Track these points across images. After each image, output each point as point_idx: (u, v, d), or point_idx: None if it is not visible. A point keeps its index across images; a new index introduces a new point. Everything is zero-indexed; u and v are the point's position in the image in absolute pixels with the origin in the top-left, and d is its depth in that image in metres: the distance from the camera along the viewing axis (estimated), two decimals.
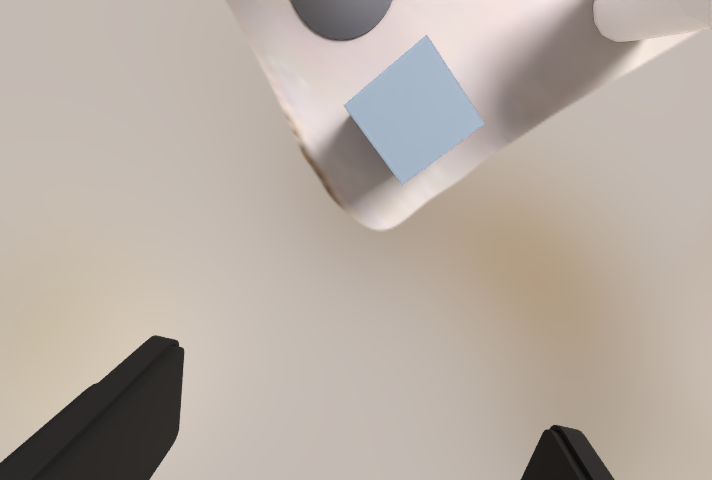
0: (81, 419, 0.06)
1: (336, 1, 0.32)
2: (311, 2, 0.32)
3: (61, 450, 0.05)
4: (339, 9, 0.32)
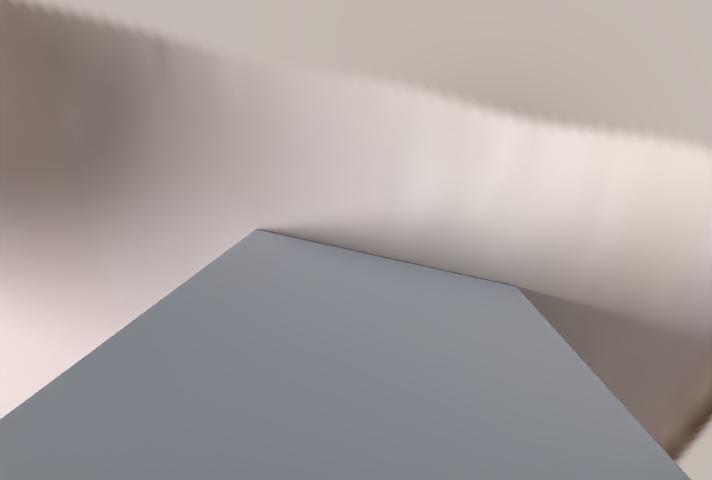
0: None
1: None
2: None
3: None
4: None
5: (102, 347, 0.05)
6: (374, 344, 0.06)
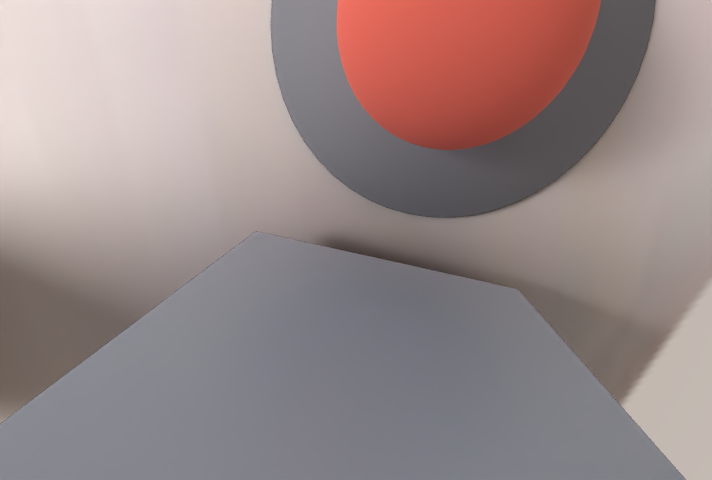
0: None
1: None
2: (577, 72, 0.09)
3: None
4: None
5: (100, 352, 0.05)
6: (373, 348, 0.06)
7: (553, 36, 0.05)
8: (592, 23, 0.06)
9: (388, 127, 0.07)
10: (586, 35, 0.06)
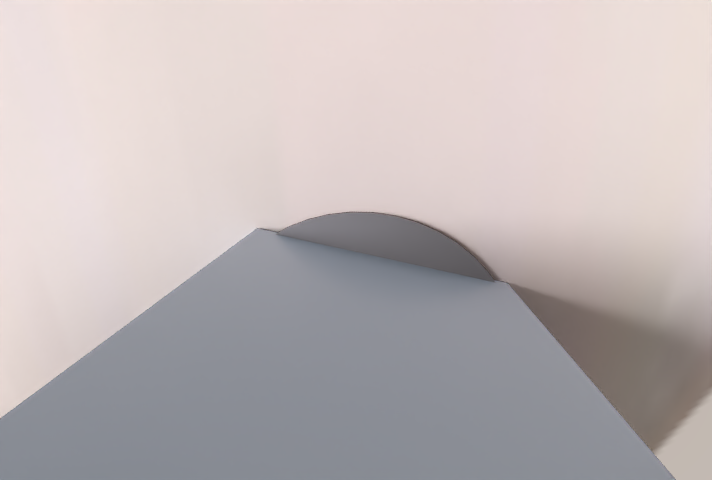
0: None
1: None
2: None
3: None
4: None
5: (118, 335, 0.05)
6: (367, 334, 0.06)
7: None
8: None
9: None
10: None
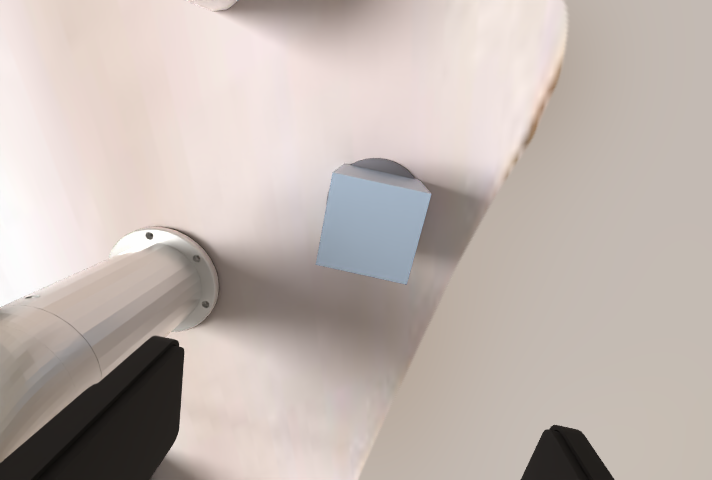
0: (81, 419, 0.06)
1: None
2: None
3: (60, 450, 0.05)
4: None
5: (337, 169, 0.29)
6: (379, 176, 0.31)
7: None
8: None
9: None
10: None
